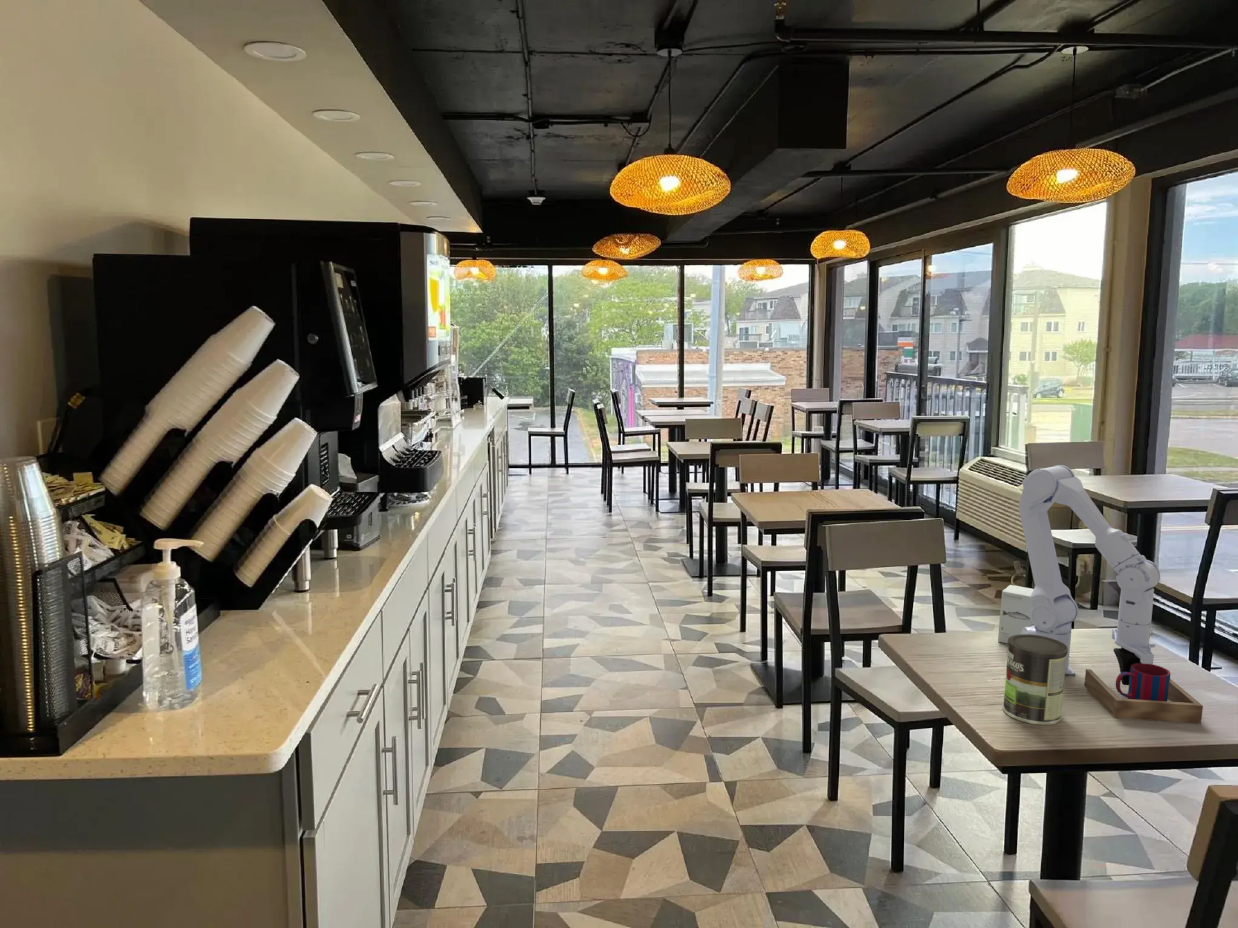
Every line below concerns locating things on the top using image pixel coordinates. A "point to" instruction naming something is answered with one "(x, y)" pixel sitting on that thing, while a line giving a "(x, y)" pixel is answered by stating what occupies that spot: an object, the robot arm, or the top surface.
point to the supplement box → (1014, 611)
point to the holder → (1147, 703)
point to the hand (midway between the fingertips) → (1128, 684)
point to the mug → (1146, 682)
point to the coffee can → (1035, 679)
